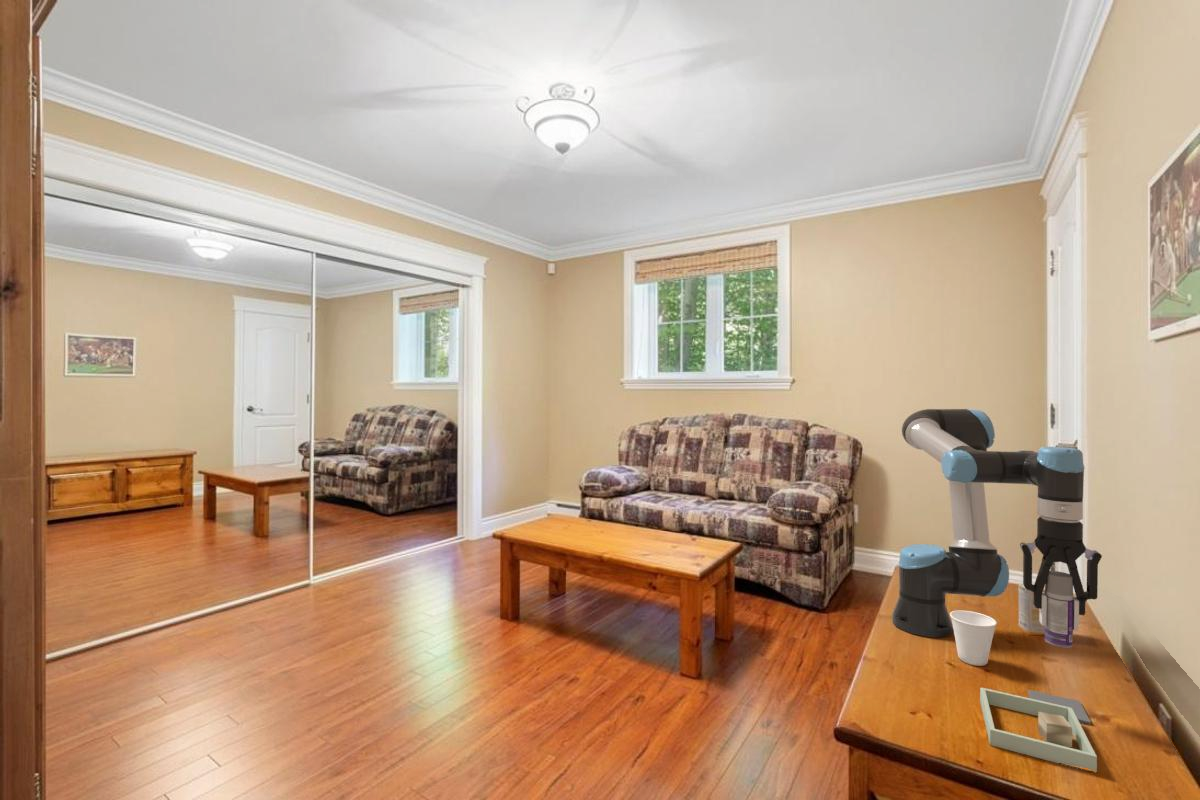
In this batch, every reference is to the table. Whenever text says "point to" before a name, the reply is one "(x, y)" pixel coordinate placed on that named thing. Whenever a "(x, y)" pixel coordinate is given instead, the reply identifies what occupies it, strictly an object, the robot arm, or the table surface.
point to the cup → (973, 636)
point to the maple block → (1055, 729)
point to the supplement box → (1029, 613)
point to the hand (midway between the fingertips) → (1058, 625)
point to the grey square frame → (1034, 746)
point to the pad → (1062, 704)
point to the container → (1059, 609)
